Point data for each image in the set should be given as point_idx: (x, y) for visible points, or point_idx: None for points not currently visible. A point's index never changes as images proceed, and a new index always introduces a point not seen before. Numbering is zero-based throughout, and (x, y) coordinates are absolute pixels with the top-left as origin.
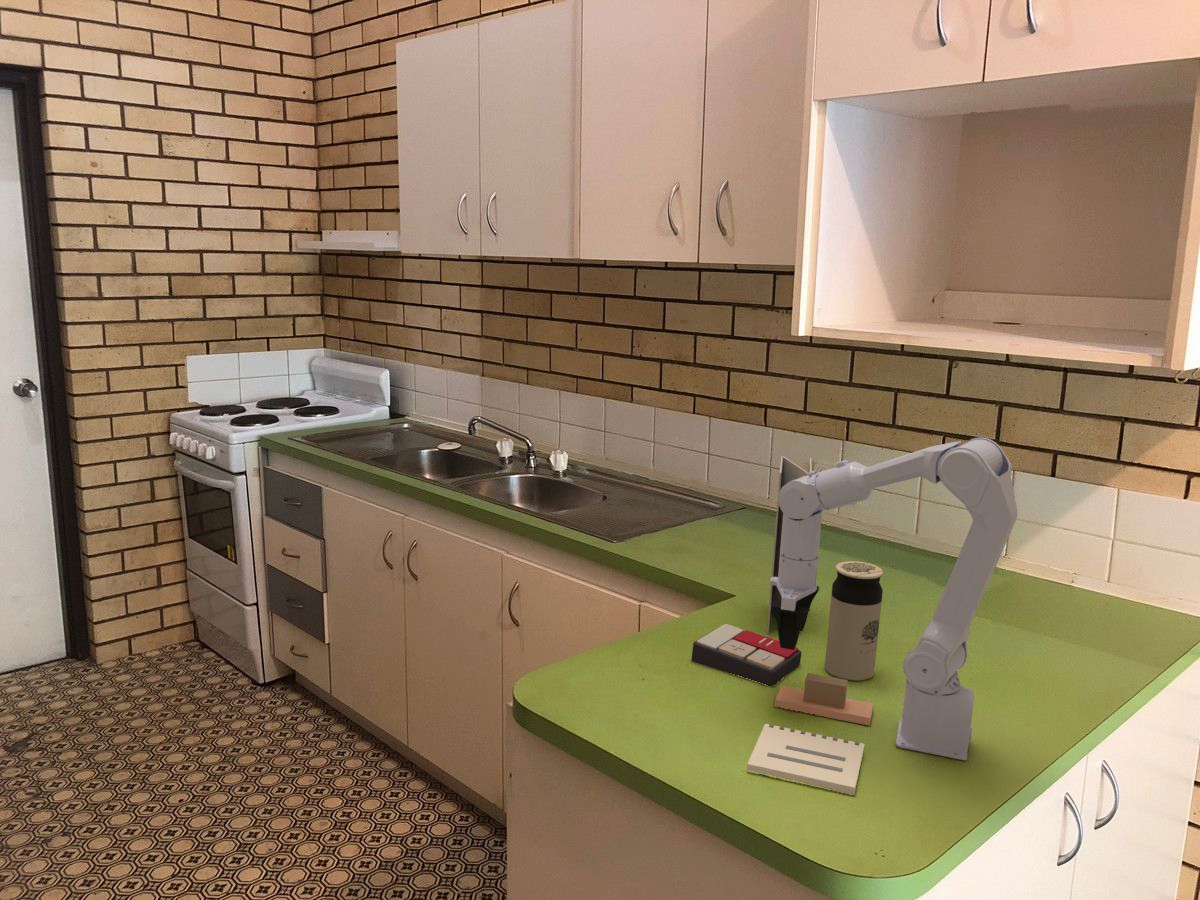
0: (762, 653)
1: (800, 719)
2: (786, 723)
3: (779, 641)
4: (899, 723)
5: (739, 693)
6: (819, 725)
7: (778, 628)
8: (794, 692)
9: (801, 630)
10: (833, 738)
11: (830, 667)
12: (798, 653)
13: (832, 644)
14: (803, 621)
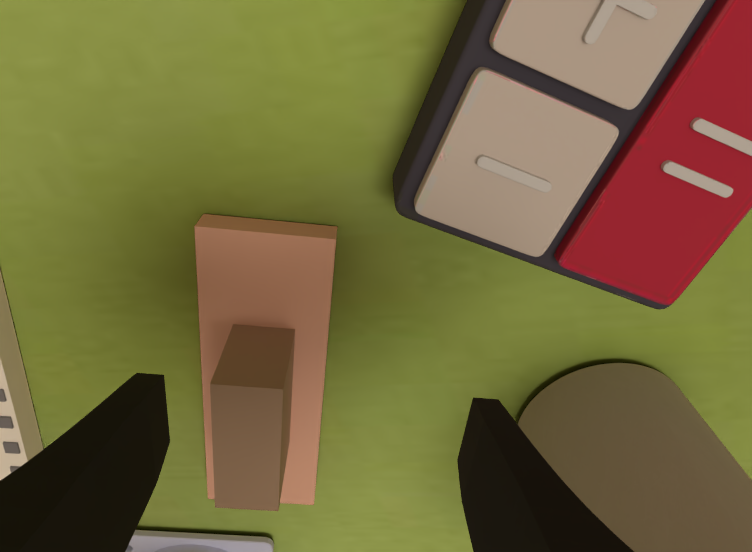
0: (564, 150)
1: (156, 304)
2: (97, 262)
3: (113, 392)
4: (244, 543)
5: (272, 47)
6: (145, 359)
7: (14, 472)
8: (295, 290)
9: (458, 461)
10: (3, 418)
11: (563, 395)
12: (634, 300)
13: (601, 468)
14: (472, 520)
